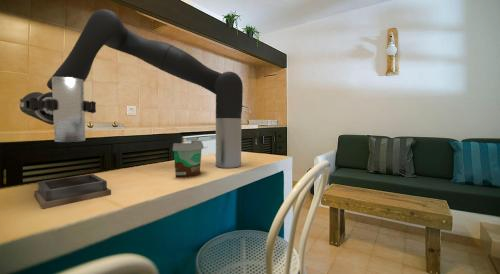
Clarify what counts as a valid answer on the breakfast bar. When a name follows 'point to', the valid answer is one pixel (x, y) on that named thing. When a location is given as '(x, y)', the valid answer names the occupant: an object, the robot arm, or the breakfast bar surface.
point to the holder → (70, 190)
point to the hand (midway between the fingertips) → (71, 105)
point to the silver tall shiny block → (68, 109)
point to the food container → (187, 158)
